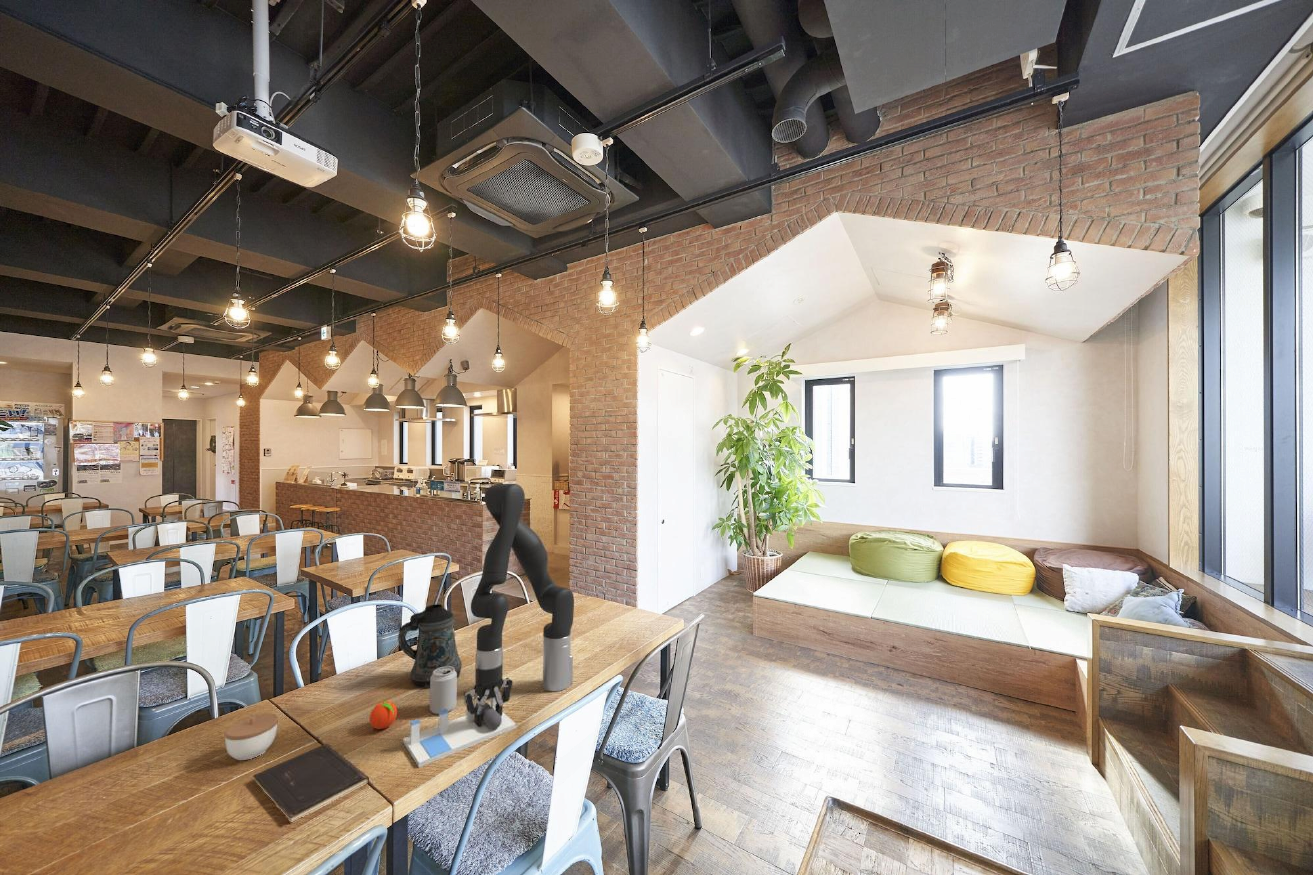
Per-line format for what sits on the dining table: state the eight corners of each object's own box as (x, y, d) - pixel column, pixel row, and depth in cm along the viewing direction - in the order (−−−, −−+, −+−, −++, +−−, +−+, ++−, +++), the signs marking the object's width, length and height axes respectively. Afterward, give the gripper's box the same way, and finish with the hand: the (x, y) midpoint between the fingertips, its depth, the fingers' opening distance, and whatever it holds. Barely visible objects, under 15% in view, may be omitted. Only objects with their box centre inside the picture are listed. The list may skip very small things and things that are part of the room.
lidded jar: (287, 746, 130) (287, 710, 130) (241, 771, 120) (242, 732, 120) (260, 738, 133) (261, 704, 134) (214, 761, 123) (214, 724, 123)
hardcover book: (289, 827, 102) (289, 816, 102) (252, 784, 116) (253, 775, 116) (369, 785, 115) (369, 775, 116) (328, 750, 129) (328, 742, 129)
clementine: (404, 724, 140) (405, 700, 140) (382, 737, 134) (382, 711, 134) (386, 718, 143) (386, 694, 144) (363, 730, 137) (364, 705, 137)
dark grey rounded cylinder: (473, 716, 142) (473, 702, 142) (486, 711, 145) (486, 698, 145) (490, 733, 133) (490, 719, 134) (504, 728, 136) (504, 714, 136)
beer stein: (471, 674, 172) (472, 603, 173) (419, 697, 156) (421, 619, 156) (443, 663, 181) (444, 596, 182) (391, 684, 164) (393, 610, 165)
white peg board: (495, 708, 149) (495, 686, 149) (515, 727, 138) (515, 704, 139) (403, 742, 131) (403, 717, 132) (418, 767, 121) (419, 740, 121)
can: (446, 717, 144) (447, 676, 144) (424, 714, 146) (425, 674, 146) (461, 704, 151) (461, 665, 152) (440, 701, 153) (440, 663, 153)
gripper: (506, 651, 147) (506, 707, 147) (459, 665, 138) (458, 725, 137) (518, 659, 142) (517, 718, 141) (469, 674, 132) (468, 737, 132)
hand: (488, 721), depth 139 cm, fingers open, 5 cm apart
